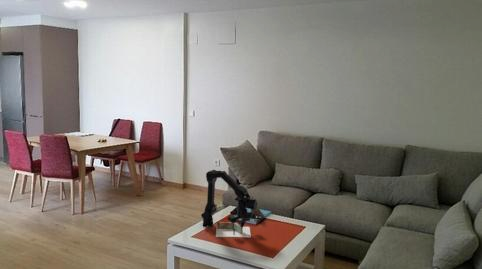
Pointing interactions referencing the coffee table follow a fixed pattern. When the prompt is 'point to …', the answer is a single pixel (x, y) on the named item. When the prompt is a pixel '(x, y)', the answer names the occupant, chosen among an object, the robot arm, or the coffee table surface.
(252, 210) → the worn brown figurine
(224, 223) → the fence fixed section
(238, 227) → the fence panel
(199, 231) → the coffee table surface
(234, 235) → the card
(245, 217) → the robot arm
